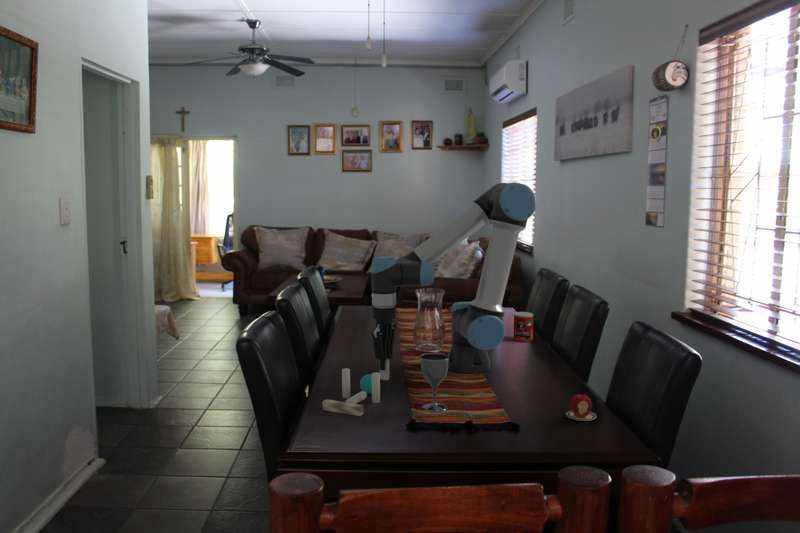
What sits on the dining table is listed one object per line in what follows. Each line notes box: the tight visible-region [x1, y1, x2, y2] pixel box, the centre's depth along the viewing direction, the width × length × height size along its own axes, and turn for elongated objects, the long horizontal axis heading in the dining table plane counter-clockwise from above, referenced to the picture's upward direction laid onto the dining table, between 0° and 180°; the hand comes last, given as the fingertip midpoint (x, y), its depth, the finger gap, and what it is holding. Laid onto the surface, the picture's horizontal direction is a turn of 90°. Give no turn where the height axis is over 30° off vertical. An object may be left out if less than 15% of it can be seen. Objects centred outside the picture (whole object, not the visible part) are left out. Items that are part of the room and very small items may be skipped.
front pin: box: [345, 390, 368, 404], centre depth 190 cm, size 2×2×8 cm
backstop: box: [322, 399, 364, 417], centre depth 182 cm, size 12×2×2 cm, turn 65°
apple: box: [565, 393, 597, 422], centre depth 177 cm, size 8×8×6 cm
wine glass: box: [420, 352, 449, 413], centre depth 184 cm, size 8×8×15 cm
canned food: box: [513, 311, 534, 343], centre depth 264 cm, size 8×8×11 cm
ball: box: [359, 373, 372, 395], centre depth 197 cm, size 6×6×6 cm
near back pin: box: [371, 371, 381, 404], centre depth 190 cm, size 2×2×8 cm
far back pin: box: [341, 367, 351, 399], centre depth 194 cm, size 2×2×8 cm
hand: (384, 379), depth 206 cm, fingers closed
